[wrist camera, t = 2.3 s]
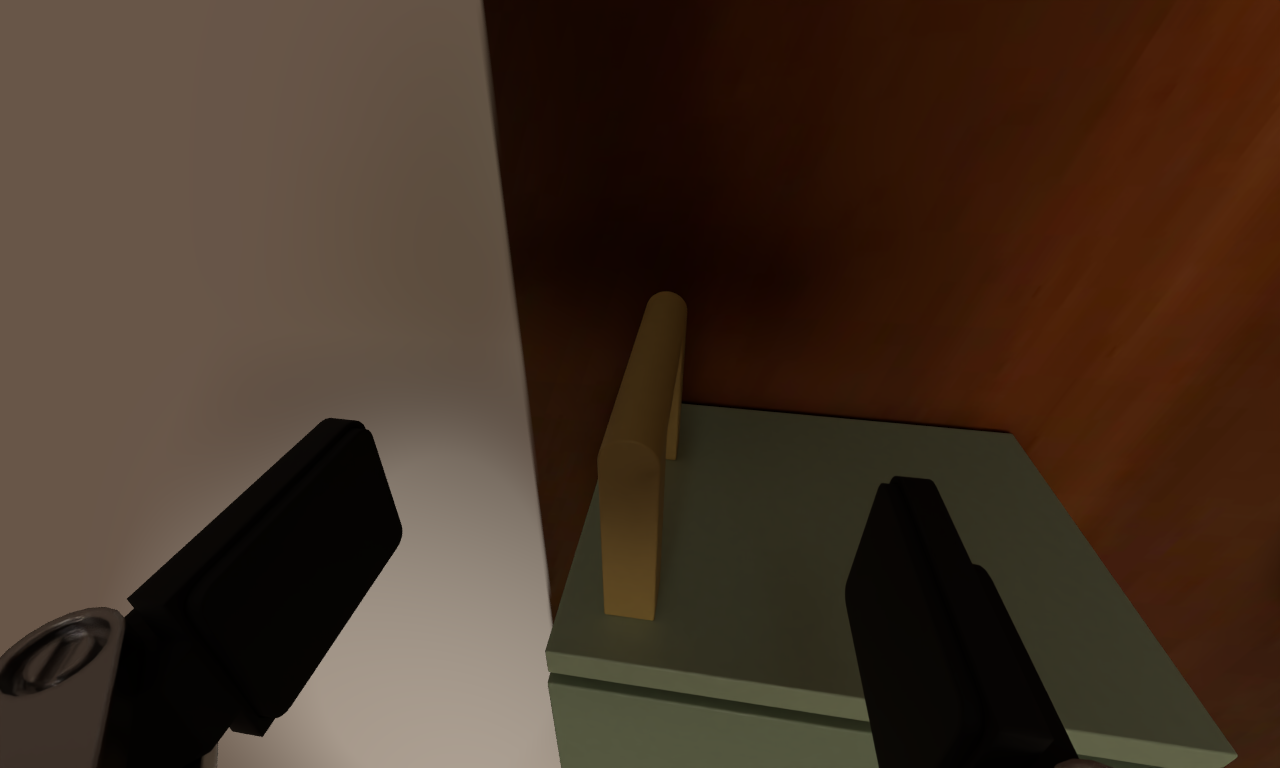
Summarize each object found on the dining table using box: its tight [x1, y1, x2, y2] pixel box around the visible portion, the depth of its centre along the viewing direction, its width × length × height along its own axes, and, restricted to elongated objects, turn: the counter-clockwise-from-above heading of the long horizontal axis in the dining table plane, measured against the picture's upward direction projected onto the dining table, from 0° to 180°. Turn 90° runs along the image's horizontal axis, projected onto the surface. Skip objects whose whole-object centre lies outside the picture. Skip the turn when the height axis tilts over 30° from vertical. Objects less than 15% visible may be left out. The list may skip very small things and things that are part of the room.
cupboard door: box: [545, 291, 1237, 768], centre depth 16 cm, size 7×16×12 cm, turn 89°
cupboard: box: [548, 673, 1164, 768], centre depth 22 cm, size 12×16×12 cm
